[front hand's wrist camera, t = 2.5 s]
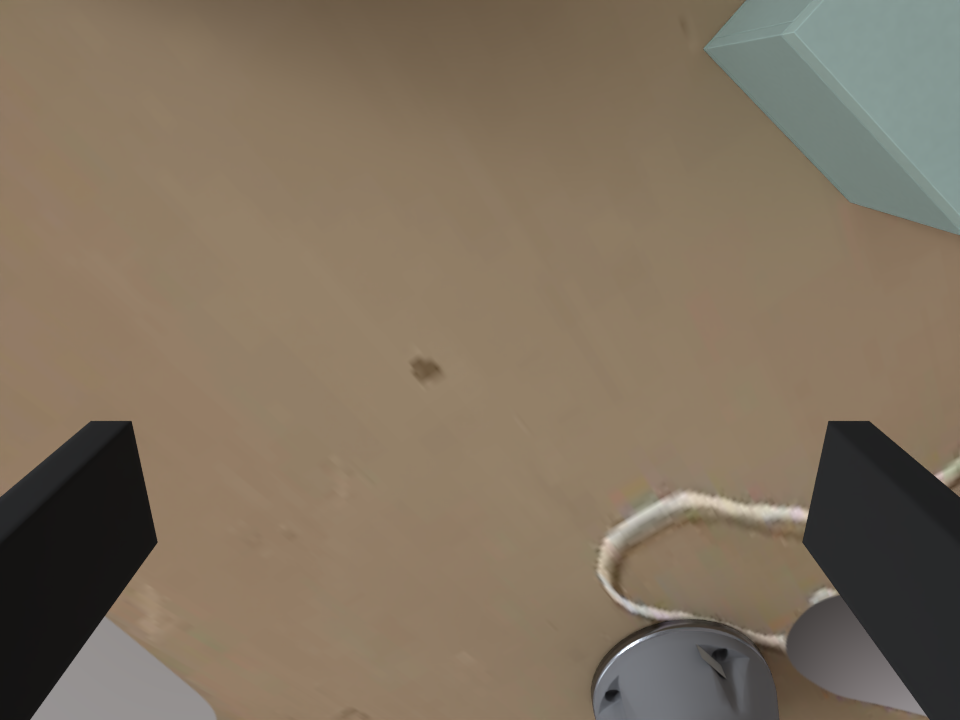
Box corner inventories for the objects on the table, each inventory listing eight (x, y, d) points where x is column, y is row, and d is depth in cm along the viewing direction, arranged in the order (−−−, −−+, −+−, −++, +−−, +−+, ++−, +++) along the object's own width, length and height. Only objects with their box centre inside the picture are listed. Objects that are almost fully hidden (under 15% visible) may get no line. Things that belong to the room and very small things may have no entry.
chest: (975, 81, 40) (1145, 77, 30) (849, 202, 43) (966, 237, 33) (829, -95, 37) (963, -166, 27) (702, 49, 39) (780, 34, 29)
